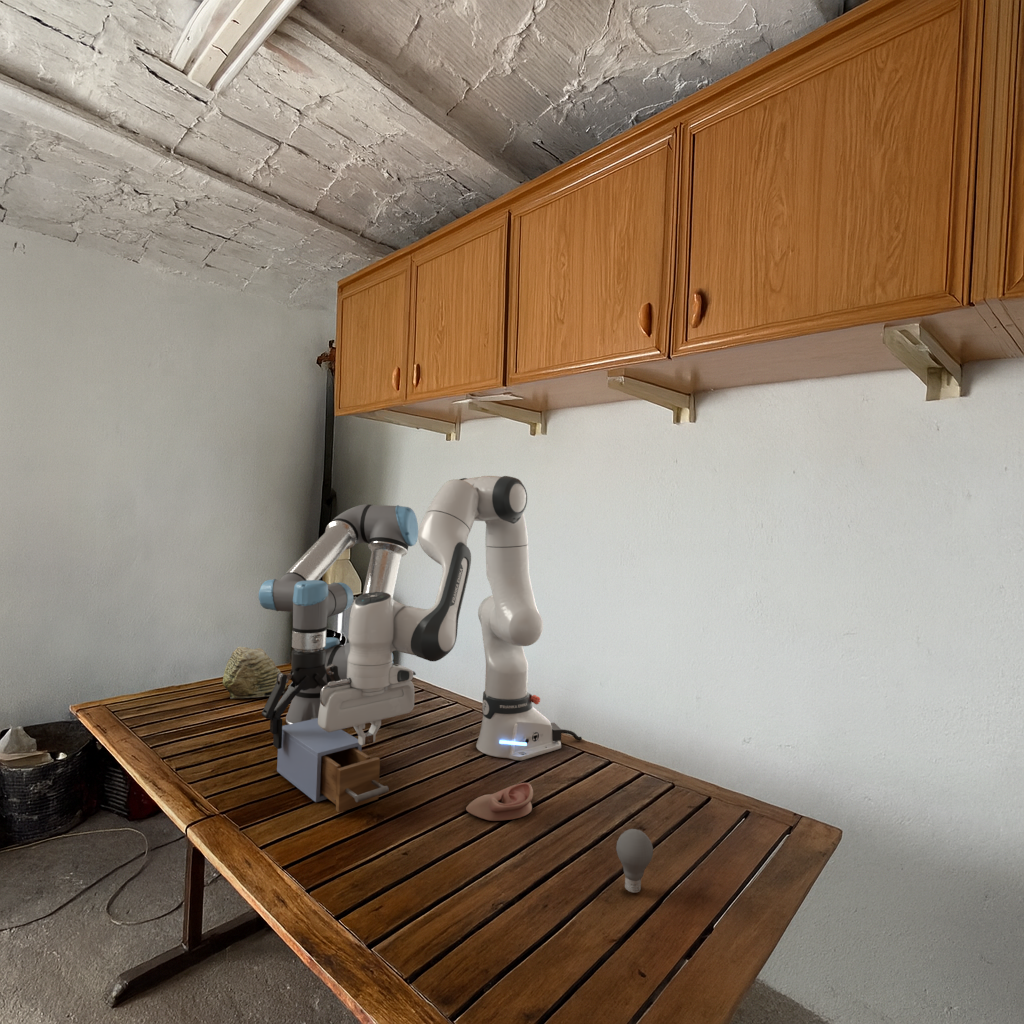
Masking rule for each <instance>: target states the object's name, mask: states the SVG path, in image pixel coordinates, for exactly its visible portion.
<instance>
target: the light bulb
mask: <svg viewBox="0 0 1024 1024" xmlns="http://www.w3.org/2000/svg"><path fill="white" fill-rule="evenodd" d="M615 849H616V854H617V857H618V859H619V861H620V863H621V865H622V867H623V873H624V874H623V875H624V876H625V878H624V888H625V890H627V891H628V892H630V893H634V894H635V893H639V892H640V891H641V889H642V887H641V886H642V879H643V877H644V875H645V871H646V868H647V867H648V866H649V864H650V863H651V861H652V859H653V855H654V847H653V843H652V841H651V838H649V836H648V835H647V834H646V833H645V832H643V831H642V830H641V829H636V828H629V829H627V830H625V831H623V832H622V833H621V834H620V835H619V837H618V839H617V841H616V847H615Z"/></svg>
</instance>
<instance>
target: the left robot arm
mask: <svg viewBox="0 0 1024 1024" xmlns="http://www.w3.org/2000/svg"><path fill="white" fill-rule="evenodd" d="M418 531H419V523H418V519H417V515H416V513H415V511H414V510H413V508H411V507H409V506H402V505H384V504H367V503H365V504H359V505H356V506H353V507H351V508H348V509H347V510H344V511H343V512H341V513H340V514H338V515H337V516H335V517H334V518H333V519H332V520H331V521H330V522H329V523H328V524H327V525H326V527H325V531H324V533H323V534H322V535H321V536H320V537H319V538H318V539H317V540H316V541H315V542H314V543H313V545H311V547H309V548H308V549H307V550H306V552H305V553H304V554H303V555H302V556H301V557H300V558H299V559H298V560H297V561H296V562H295V563H294V564H293V565H292V566H291V567H290V568H289V569H288V570H287V571H286V573H285V574H284V575H282V577H280V579H276V578H274V579H267V580H265V581H263V582H262V584H261V585H260V587H259V591H258V600H259V604H260V606H261V607H262V608H263V609H265V610H271V611H276V612H285V613H287V612H289V613H292V631H291V632H292V633H291V647H292V648H293V649H292V650H291V662H290V663H291V670H290V672H289V673H283V672H281V671H280V673H278V674H277V681H276V684H275V686H274V688H273V690H272V692H271V695H270V696H268V699H267V701H266V703H265V705H264V707H263V709H262V711H261V716H262V717H263V718H265V719H266V720H269V731H270V734H272V736H273V739H272V741H273V742H272V745H273V746H274V748H276V749H277V750H278V749H281V748H282V726H283V718H281V716H282V715H283V714H284V712H285V711H286V709H287V708H288V707H289V708H288V711H287V713H286V715H285V725H289V724H293V723H298V722H302V721H307V720H311V719H316V718H318V714H319V708H320V703H321V701H320V693H321V690H322V689H323V687H324V686H325V685H327V684H328V682H331V681H339V680H342V679H347V659H348V655H349V652H350V644H349V640H348V637H347V638H346V641H345V644H343V645H342V644H340V643H341V641H340V639H339V638H338V637H334V636H333V637H327V626H328V625H327V624H328V618H330V617H333V616H336V615H340V614H342V613H343V612H345V611H347V610H348V609H350V608H351V607H352V605H353V602H354V592H353V590H352V588H351V587H350V586H349V585H348V584H346V583H344V582H341V581H340V582H332V583H327V582H326V581H324V580H321V578H322V577H323V576H324V575H325V574H326V573H327V571H329V570H330V568H331V567H332V566H333V565H334V563H335V562H336V561H337V560H338V559H339V558H340V557H341V556H342V554H343V553H344V552H345V551H346V550H349V549H352V548H353V547H354V546H355V545H356V544H367V547H368V549H369V550H370V551H371V555H370V558H369V562H368V567H367V572H366V576H365V577H366V578H365V581H364V587H363V592H362V594H365V593H372V592H385V593H388V594H390V595H391V597H392V599H394V594H395V590H396V585H397V580H398V574H399V569H400V566H401V559H402V558H403V557H404V556H406V555H407V554H408V551H409V547H413V546H416V544H417V542H418ZM392 658H393V660H392V663H394V654H393V652H392ZM412 671H413V676H416V675H417V673H416V671H414V670H412ZM289 680H291V682H290V683H289ZM288 683H289V685H288V686H287V689H286V690H285V691H284V689H285V686H286V685H287V684H288ZM326 688H328V687H326ZM283 691H284V692H283Z"/></svg>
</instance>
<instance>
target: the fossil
mask: <svg viewBox="0 0 1024 1024" xmlns="http://www.w3.org/2000/svg"><path fill="white" fill-rule="evenodd" d="M280 672H281V669H279V668H278V667H277V665H276V663H275V662H274V660H273V659H272V658H271V657H270V656H269V655H268V654H267V653H266V652H265V650H264V649H263V648H260V647H258V648H251V647H247V646H246V647H245V646H238V647H237V648H236V649H235V650H233V651H232V653H231V656H230V657H229V659H228V660H227V663H226V666H225V668H224V671H223V675H222V676H223V677H222V685H223V687H224V688H225V690H226V691H228V693H229V698H230V699H250V698H264V697H270V695H271V692H272V690H273V688H274V686H275V684H276V681H277V674H278V673H280ZM287 688H288V686H287V684H286V686H285V689H284V691H283V693H285V692H286V691H287Z"/></svg>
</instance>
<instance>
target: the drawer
mask: <svg viewBox="0 0 1024 1024" xmlns="http://www.w3.org/2000/svg"><path fill="white" fill-rule="evenodd" d="M380 770H381V758H379V757H378V756H375V757H372V758H371V756H370V755H368V754H366V753H365V752H363V751H362V750H361V751H360V750H358V749H356V748H355V747H353V748H350V749H346V750H342V751H339V752H335V753H331V754H328V755H324V756H321V779H320V793H321V794H322V795H324V796H325V797H326V798H328V799H327V800H329V801H330V802H331V803H333V804H334V805H335V811H336V812H337V813H342V812H344V811H345V812H346V811H348V810H351V809H354V808H357V807H360V806H363V805H365V804H368V803H371V802H374V801H376V800H379V798H380V797H379V796H382V795H384V794H388V793H389V786H388V785H383V784H381V783H380V773H381V772H380Z"/></svg>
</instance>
